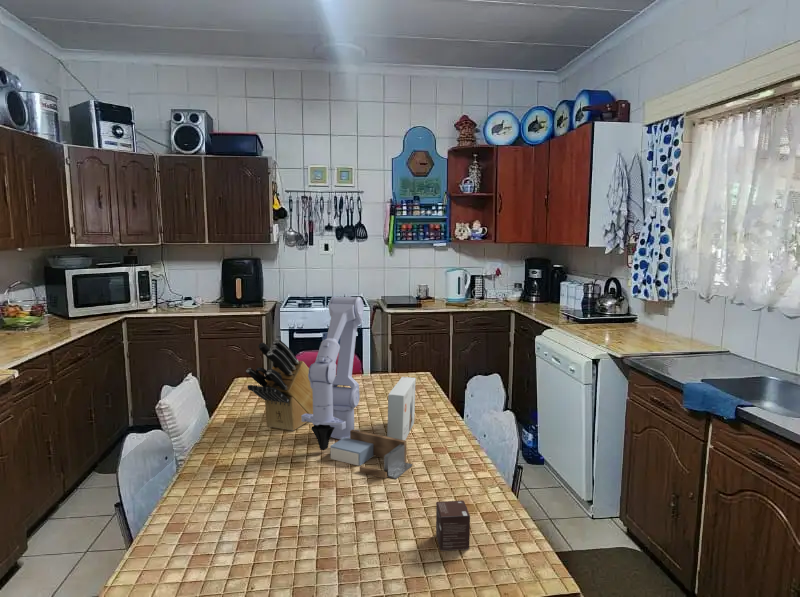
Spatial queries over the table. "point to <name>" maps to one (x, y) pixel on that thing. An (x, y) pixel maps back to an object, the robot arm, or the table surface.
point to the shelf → (377, 448)
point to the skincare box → (401, 408)
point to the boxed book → (351, 451)
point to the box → (452, 525)
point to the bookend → (395, 462)
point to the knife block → (283, 387)
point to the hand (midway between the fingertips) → (323, 448)
